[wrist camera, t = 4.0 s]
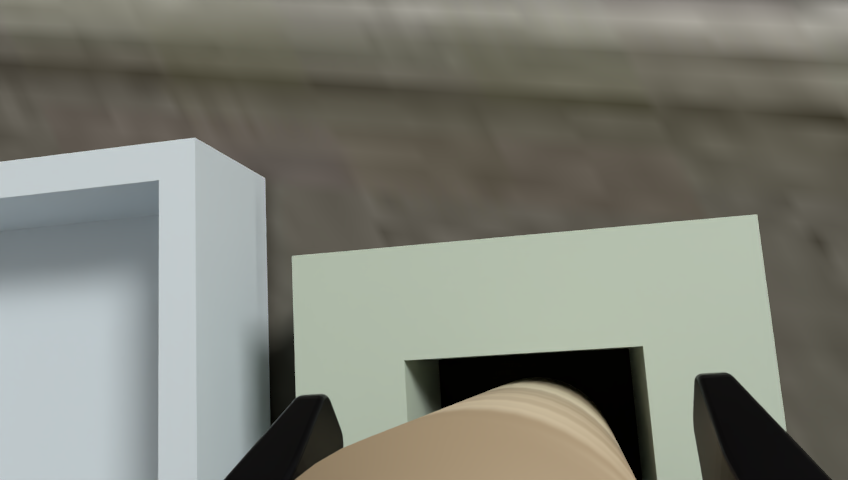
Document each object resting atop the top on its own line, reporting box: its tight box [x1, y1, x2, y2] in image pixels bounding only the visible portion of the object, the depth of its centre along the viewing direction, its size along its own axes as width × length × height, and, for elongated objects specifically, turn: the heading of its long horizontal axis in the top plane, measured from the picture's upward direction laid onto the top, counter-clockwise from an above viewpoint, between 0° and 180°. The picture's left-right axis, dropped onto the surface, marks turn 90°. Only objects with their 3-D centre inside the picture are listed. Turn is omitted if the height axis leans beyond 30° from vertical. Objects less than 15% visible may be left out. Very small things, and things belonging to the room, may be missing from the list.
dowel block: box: [292, 215, 786, 480], centre depth 14 cm, size 8×8×4 cm
